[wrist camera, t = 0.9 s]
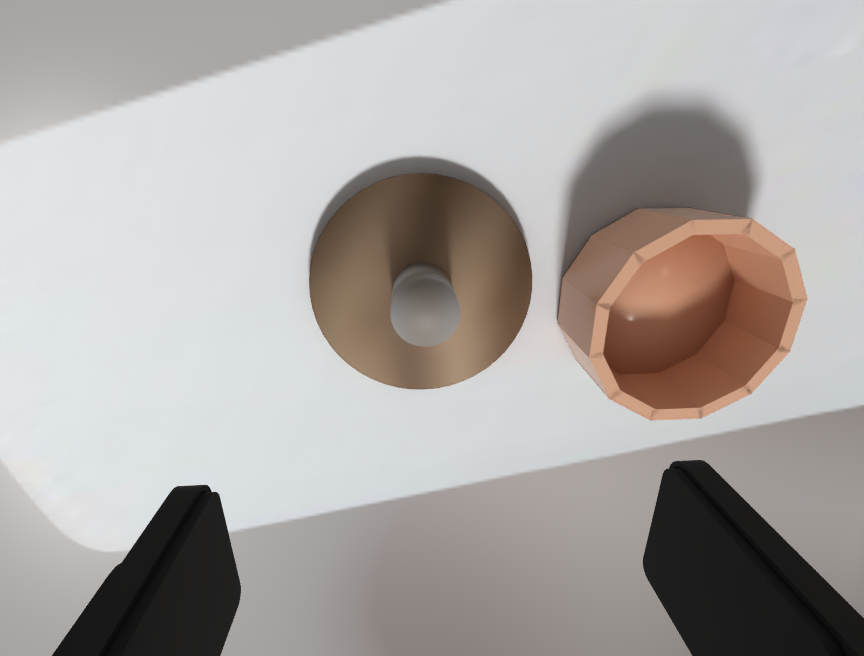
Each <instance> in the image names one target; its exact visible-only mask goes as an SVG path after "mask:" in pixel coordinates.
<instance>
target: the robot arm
mask: <svg viewBox="0 0 864 656" xmlns="http://www.w3.org/2000/svg"><path fill="white" fill-rule="evenodd" d="M643 567H644V572H645V574H646V577H647V579H648V581H649V582H650V584H651V586H652V587H653V589H654V591H655V592H656V594H657V596H658V598H659V599H660V601H661V603H662V604H663V606H664V608H665V609H666V611H667V613H668V615H669V616H670V618H671V620H672V622H673V623H674V625H675V626H676V628H677V630H678V632H679V634H680V635H681V637H682V639H683V640H684V642H685V644H686V646H687V647H688V649H689V650H690V652H691V654H692V656H864V618H863V617H862V616H861V615H860V614H859V613H857V611H856V610H854V608H853V607H852V606H851V605H850V604H849V603H848V602H847V601H845V599H844V598H843V597H842V596H841V595H840V594H839V593H837V591H836V590H834V588H833V587H831V585H829V583H828V582H826V580H825V579H824V578H823V577H821V576H820V574H819V573H818V572H816V570H815V569H813V567H811V566H810V565H809V564H808V563H807V562H806V561H805V560H804V559H803V558H802V557H801V556H800V555H799V554H798V553H797V552H796V551H795V550H794V549H793V548H792V547H791V546H790V545H789V544H788V543H787V542H786V541H785V540H784V539H783V538H782V537H781V536H780V535H779V534H778V533H777V532H776V531H775V530H774V529H773V528H772V527H771V526H770V525H769V524H768V523H767V522H766V521H765V520H764V519H763V518H762V517H761V516H760V515H759V514H758V513H757V512H756V511H755V510H754V509H753V508H752V507H751V506H750V505H749V504H748V503H747V502H746V501H745V500H744V499H743V498H742V497H741V496H740V495H739V494H738V493H737V492H736V491H735V490H734V489H733V488H732V487H731V486H730V485H729V484H728V483H727V482H726V481H725V480H724V479H723V478H722V477H721V476H720V475H719V474H718V473H717V472H716V471H715V470H714V469H713V468H712V467H711V466H710V465H709V464H708V463H706V462H705V461H702V460H691V461H675V462H673V463H672V464H671V465H670V467H669V469H666V470H665V471H664V473H663V476H662V480H661V485H660V489H659V493H658V497H657V502H656V506H655V511H654V515H653V519H652V523H651V527H650V532H649V536H648V540H647V544H646V549H645V553H644V557H643ZM240 593H241V585H240V580H239V576H238V572H237V568H236V563H235V559H234V555H233V551H232V547H231V542H230V539H229V534H228V530H227V525H226V521H225V517H224V513H223V508H222V504H221V500H220V496H219V494H218V493H217V492H211V489H210V487H209V486H208V485H195V486H177V487H175V488H174V489H173V490H172V491H171V492H170V494H169V495H168V496H167V498H166V499H165V501H164V502H163V504H162V505H161V507H160V508H159V510H158V511H157V512H156V514H155V515H154V517H153V518H152V520H151V521H150V523H149V524H148V525H147V527H146V528H145V530H144V531H143V533H142V534H141V536H140V537H139V538H138V540H137V541H136V543H135V544H134V546H133V547H132V549H131V550H130V551H129V553H128V554H127V556H126V558H125V559H124V560H123V562H122V563H120V564H119V565H117V566H116V567H115V568H114V569H113V570H112V572H111V573H110V574H109V575H108V577H107V578H106V579H105V581H104V582H103V584H102V585H101V587H100V588H99V589H98V591H97V592H96V594H95V595H94V597H93V598H92V599H91V601H90V602H89V604H88V605H87V606H86V608H85V609H84V611H83V612H82V614H81V615H80V616H79V618H78V619H77V621H76V622H75V624H74V625H73V626H72V628H71V629H70V631H69V632H68V634H67V635H66V636H65V638H64V639H63V641H62V642H61V644H60V645H59V646H58V648H57V649H56V651H55V652H54V653H53V655H52V656H220V655H221V652H222V649H223V646H224V644H225V641H226V638H227V635H228V633H229V630H230V627H231V624H232V622H233V619H234V616H235V613H236V611H237V608H238V605H239V600H240Z"/></svg>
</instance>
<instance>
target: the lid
mask: <svg viewBox="0 0 864 656" xmlns="http://www.w3.org/2000/svg"><path fill="white" fill-rule="evenodd" d="M309 286H310V298H311V303H312V308H313V312H314V315H315V318H316V321H317V323H318V325H319V327H320V329H321V331H322V333H323V335H324V337H325V338H326V340H327V341H328V343H329V344H330V346H331V347H332V348H333V349H334V350H335V352H336V353H337V354H338V355H339V356H340V357H341V358H342V359H343V360H344V361H345V362H346V363H348V364H349V365H350V366H351V367H353V368H354V369H356V370H357V371H358V372H360V373H362V374H364V375H365V376H367V377H369V378H371V379H373V380H376V381H378V382H381V383H383V384H387V385H391V386H394V387H399V388H406V389H434V388H440V387H445V386H450V385H453V384H456V383H459V382H462V381H464V380H466V379H468V378H471V377H473V376H475V375H476V374H478V373H480V372H481V371H483V370H484V369H486V368H487V367H489V366H490V365H491V364H492V363H494V362H495V361H496V360H497V359H498V358H499V357H500V356H501V355H502V354H503V353H504V352H505V351H506V350H507V348H508V347H509V346H510V345H511V343H512V342H513V341H514V339H515V337H516V336H517V334H518V332H519V331H520V329H521V327H522V325H523V322H524V320H525V318H526V315H527V311H528V308H529V304H530V299H531V292H532V270H531V262H530V258H529V254H528V250H527V247H526V244H525V242H524V239H523V237H522V235H521V233H520V231H519V229H518V228H517V226H516V224H515V223H514V221H513V220H512V219H511V217H510V216H509V215H508V213H507V212H506V211H505V210H504V209H503V208H502V207H501V206H500V205H499V204H498V203H497V202H496V201H495V200H494V199H492V198H491V197H490V196H488V195H487V194H485V193H484V192H483V191H481V190H479V189H477V188H475V187H474V186H472V185H470V184H468V183H465V182H463V181H460V180H457V179H454V178H451V177H447V176H442V175H437V174H423V173H418V174H405V175H400V176H396V177H391V178H388V179H385V180H382V181H380V182H377V183H375V184H373V185H371V186H369V187H367V188H365V189H363V190H362V191H360V192H359V193H358V194H356V195H355V196H353V197H352V198H351V199H349V200H348V201H347V202H346V203H345V204H344V205H343V206H342V207H341V208H340V209H339V210H338V211H337V212H336V213H335V214H334V216H333V217H332V218H331V219H330V221H329V222H328V223H327V225H326V227H325V228H324V230H323V232H322V234H321V235H320V237H319V240H318V242H317V245H316V247H315V250H314V253H313V258H312V262H311V267H310V277H309Z"/></svg>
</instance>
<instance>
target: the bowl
mask: <svg viewBox="0 0 864 656" xmlns="http://www.w3.org/2000/svg"><path fill="white" fill-rule="evenodd" d="M806 301H807V295H806V291H805V287H804V283H803V279H802V275H801V272H800V268H799V264H798V260H797V256H796V252H795V249H794V248H792V247H791V246H790V245H788V244H787V243H786V242H784V241H783V240H781V239H780V238H779V237H777V236H776V235H774V234H773V233H772V232H770V231H769V230H767V229H766V228H765V227H763V226H762V225H760V224H759V223H758V222H756V221H755V220H753V219H751V218H745V217H739V216H734V215H728V214H722V213H716V212H711V211H705V210H699V209H693V208H638V209H637V210H635V211H633V212H631V213H630V214H628V215H626V216H624V217H623V218H621V219H619V220H617V221H615V222H614V223H612V224H610V225H608V226H607V227H605V228H603V229H601V230H600V231H598V232H596V233H594V234H593V235H591V237H590V238H589V240H588V241H587V243H586V244H585V246H584V247H583V249H582V250H581V252H580V253H579V254H578V256H577V257H576V259H575V260H574V262H573V263H572V265H571V266H570V268H569V269H568V271H567V272H566V274H565V275H564V277H563V278H562V287H561V296H560V306H559V315H558V325H559V327H560V329H561V331H562V333H563V335H564V337H565V339H566V341H567V343H568V345H569V347H570V349H571V351H572V353H573V355H574V357H575V359H576V360H577V362H578V363H579V364H580V365H581V366H582V367H583V369H584V370H585V371H586V372H587V373H588V374H589V376H590V377H591V378H592V379H593V380H594V382H595V383H596V384H597V385H598V386H599V387H600V389H601V390H602V391H603V392H604V393H605V394H606V396H607V397H608V398H609V399H610V400H612V401H614V402H616V403H618V404H620V405H622V406H624V407H626V408H628V409H630V410H632V411H633V412H635V413H637V414H639V415H641V416H643V417H645V418H647V419H649V420H671V419H695V418H703V417H705V416H707V415H709V414H711V413H713V412H715V411H717V410H719V409H721V408H723V407H725V406H727V405H729V404H731V403H733V402H735V401H737V400H740V399H742V398H744V397H746V396H748V395H750V394H752V392H753V391H754V390H755V389H756V388H757V387H758V386H759V385H760V384H761V383H762V381H763V380H764V379H765V378H766V377H767V376H768V375H769V374H770V373H771V372H772V370H773V369H774V368H775V367H776V366H777V365H778V364H779V363H780V362H781V361H782V360H783V358H784V357H785V356H786V355H787V354H788V353H789V352H790V350H791V347H792V344H793V341H794V338H795V335H796V332H797V329H798V326H799V323H800V319H801V316H802V313H803V310H804V307H805V304H806Z"/></svg>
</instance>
